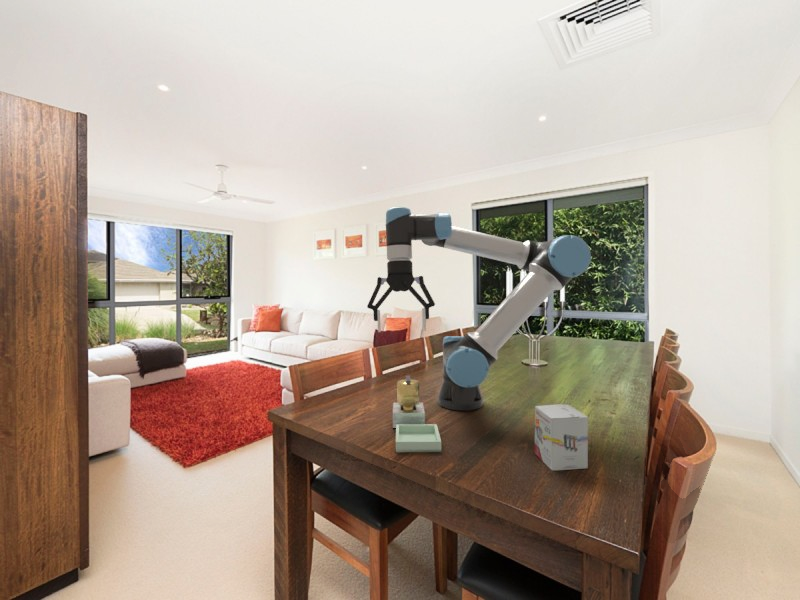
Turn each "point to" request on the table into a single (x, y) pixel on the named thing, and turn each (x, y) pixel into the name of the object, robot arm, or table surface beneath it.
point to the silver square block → (408, 415)
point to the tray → (417, 438)
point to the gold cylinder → (408, 393)
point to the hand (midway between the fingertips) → (401, 331)
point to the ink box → (561, 437)
